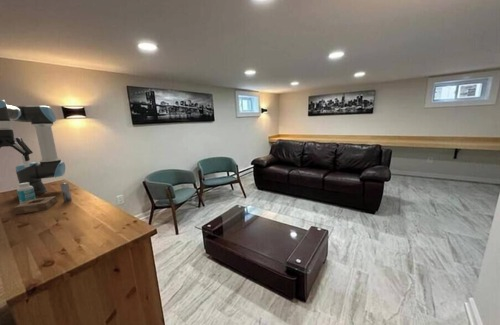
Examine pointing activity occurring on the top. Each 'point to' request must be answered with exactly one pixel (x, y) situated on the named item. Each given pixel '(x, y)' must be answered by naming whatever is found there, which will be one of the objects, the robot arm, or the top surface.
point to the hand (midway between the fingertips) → (11, 167)
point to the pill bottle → (25, 192)
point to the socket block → (35, 204)
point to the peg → (65, 192)
